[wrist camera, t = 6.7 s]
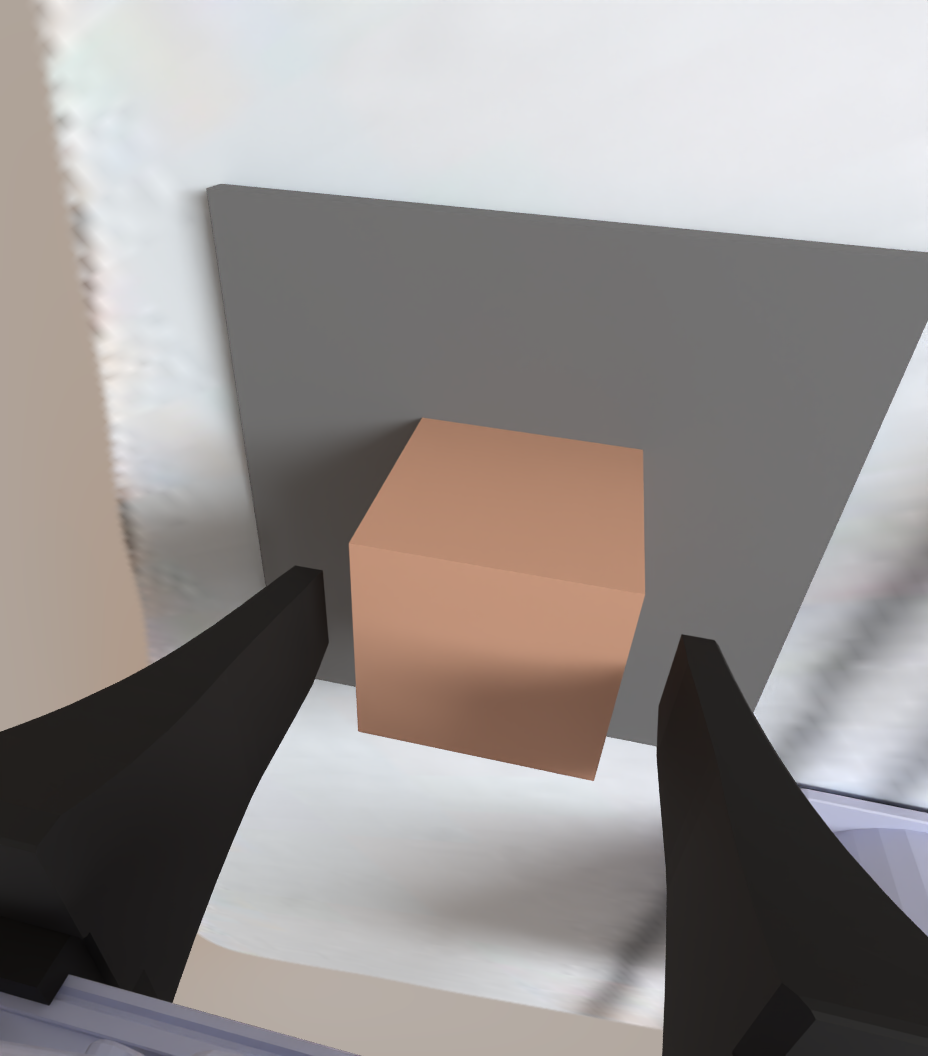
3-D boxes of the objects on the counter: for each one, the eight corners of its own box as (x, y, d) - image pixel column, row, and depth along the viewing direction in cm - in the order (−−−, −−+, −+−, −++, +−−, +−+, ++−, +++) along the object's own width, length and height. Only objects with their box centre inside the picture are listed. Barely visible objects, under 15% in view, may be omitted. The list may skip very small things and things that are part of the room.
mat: (729, 744, 21) (731, 760, 20) (286, 658, 22) (278, 671, 22) (941, 254, 12) (953, 262, 12) (220, 183, 14) (206, 188, 14)
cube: (603, 617, 18) (593, 781, 14) (418, 584, 19) (358, 731, 15) (642, 449, 15) (645, 594, 11) (422, 417, 16) (348, 543, 12)
